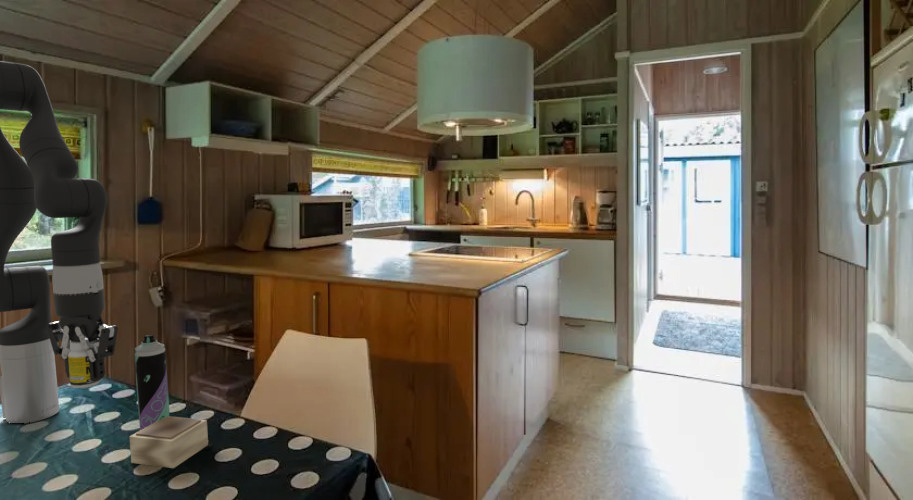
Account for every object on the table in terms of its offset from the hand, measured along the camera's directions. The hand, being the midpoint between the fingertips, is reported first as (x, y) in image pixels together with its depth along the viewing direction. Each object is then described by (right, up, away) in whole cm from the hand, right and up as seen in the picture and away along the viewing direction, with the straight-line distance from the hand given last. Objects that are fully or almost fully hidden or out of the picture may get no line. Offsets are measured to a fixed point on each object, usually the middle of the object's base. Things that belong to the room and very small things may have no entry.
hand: (85, 377), depth 98 cm
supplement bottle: (0, -1, 0) cm, 1 cm away
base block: (+16, -14, +1) cm, 21 cm away
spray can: (+7, -14, +11) cm, 19 cm away
